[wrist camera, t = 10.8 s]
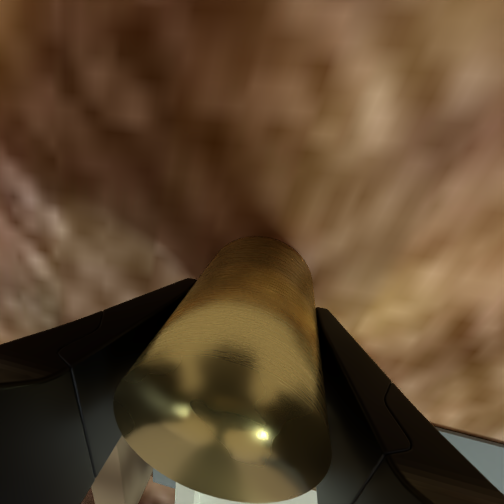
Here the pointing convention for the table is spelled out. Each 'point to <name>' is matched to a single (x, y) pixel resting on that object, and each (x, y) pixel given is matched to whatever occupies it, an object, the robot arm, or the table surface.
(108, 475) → the end stop
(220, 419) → the solid brass cylinder
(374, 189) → the table surface
